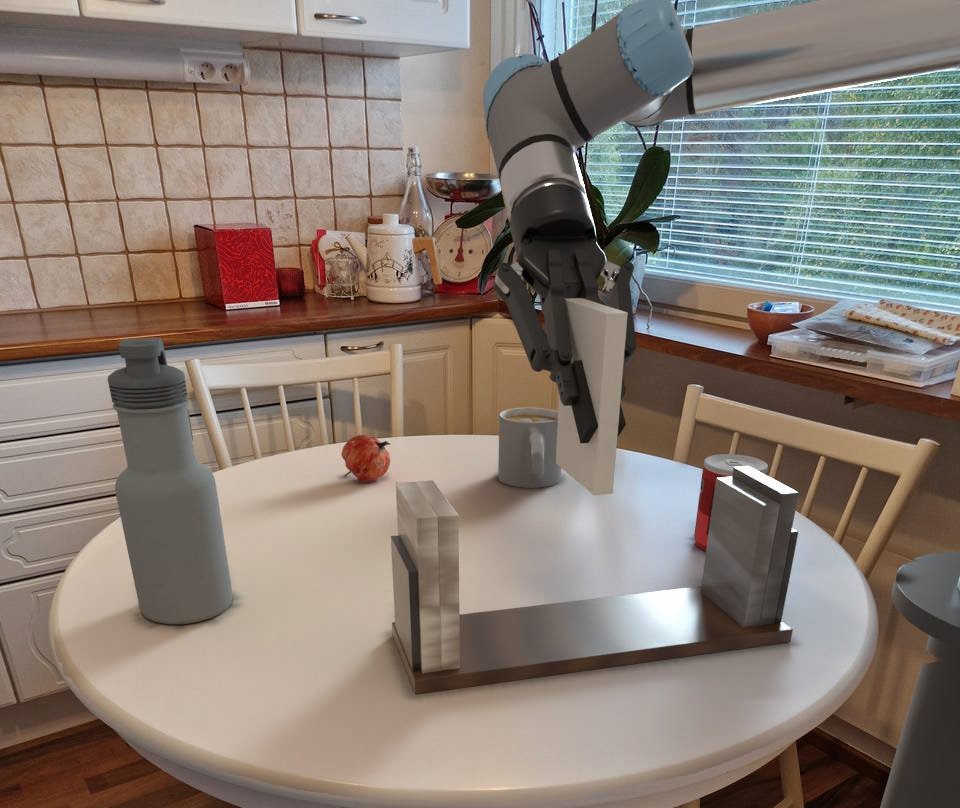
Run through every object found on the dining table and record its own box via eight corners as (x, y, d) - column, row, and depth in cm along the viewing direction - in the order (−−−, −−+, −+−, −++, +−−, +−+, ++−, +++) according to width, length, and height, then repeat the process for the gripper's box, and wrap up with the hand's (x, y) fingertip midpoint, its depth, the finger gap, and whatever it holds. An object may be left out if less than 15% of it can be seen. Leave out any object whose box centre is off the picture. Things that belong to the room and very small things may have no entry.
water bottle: (144, 592, 97) (91, 334, 83) (233, 583, 99) (195, 330, 86) (137, 632, 88) (77, 351, 75) (234, 621, 90) (192, 346, 77)
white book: (572, 462, 83) (582, 298, 76) (612, 493, 74) (627, 312, 67) (555, 463, 83) (563, 298, 75) (593, 495, 74) (606, 313, 67)
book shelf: (730, 594, 97) (752, 451, 89) (790, 642, 86) (821, 485, 79) (392, 635, 87) (384, 480, 80) (415, 694, 77) (408, 523, 69)
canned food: (726, 531, 114) (738, 450, 109) (767, 551, 108) (782, 467, 103) (680, 539, 111) (690, 457, 106) (720, 561, 105) (732, 475, 100)
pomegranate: (340, 499, 132) (382, 467, 126) (318, 457, 132) (358, 424, 126) (370, 491, 138) (410, 461, 132) (348, 451, 138) (388, 419, 132)
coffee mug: (501, 467, 140) (502, 406, 135) (561, 470, 139) (564, 408, 134) (492, 493, 128) (493, 427, 123) (558, 496, 127) (561, 429, 122)
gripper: (608, 240, 84) (665, 450, 78) (463, 242, 81) (510, 461, 75) (635, 179, 77) (700, 405, 71) (478, 178, 74) (531, 415, 67)
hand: (602, 433), depth 73 cm, fingers closed on white book, 2 cm apart
